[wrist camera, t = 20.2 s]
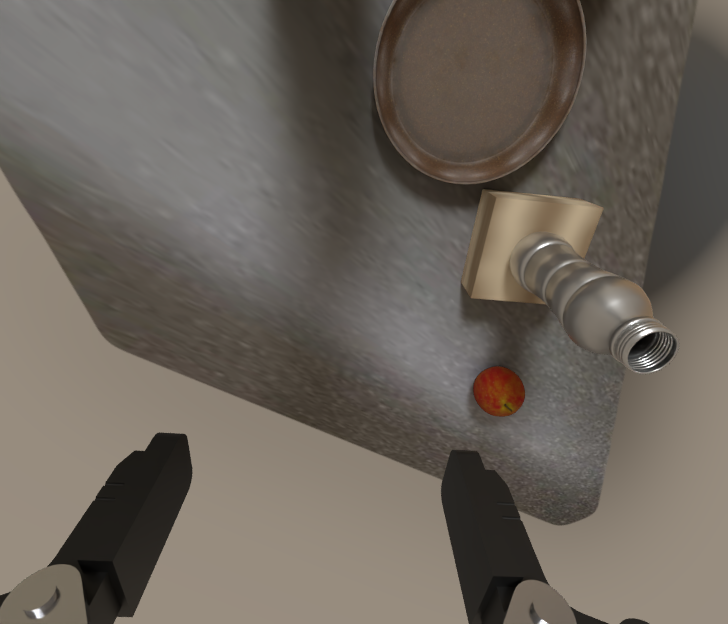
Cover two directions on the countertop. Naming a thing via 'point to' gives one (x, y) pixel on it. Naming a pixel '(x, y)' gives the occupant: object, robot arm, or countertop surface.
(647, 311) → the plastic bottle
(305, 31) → the countertop surface
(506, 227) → the block
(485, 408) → the fruit
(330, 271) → the countertop surface
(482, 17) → the plant saucer
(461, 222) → the countertop surface
